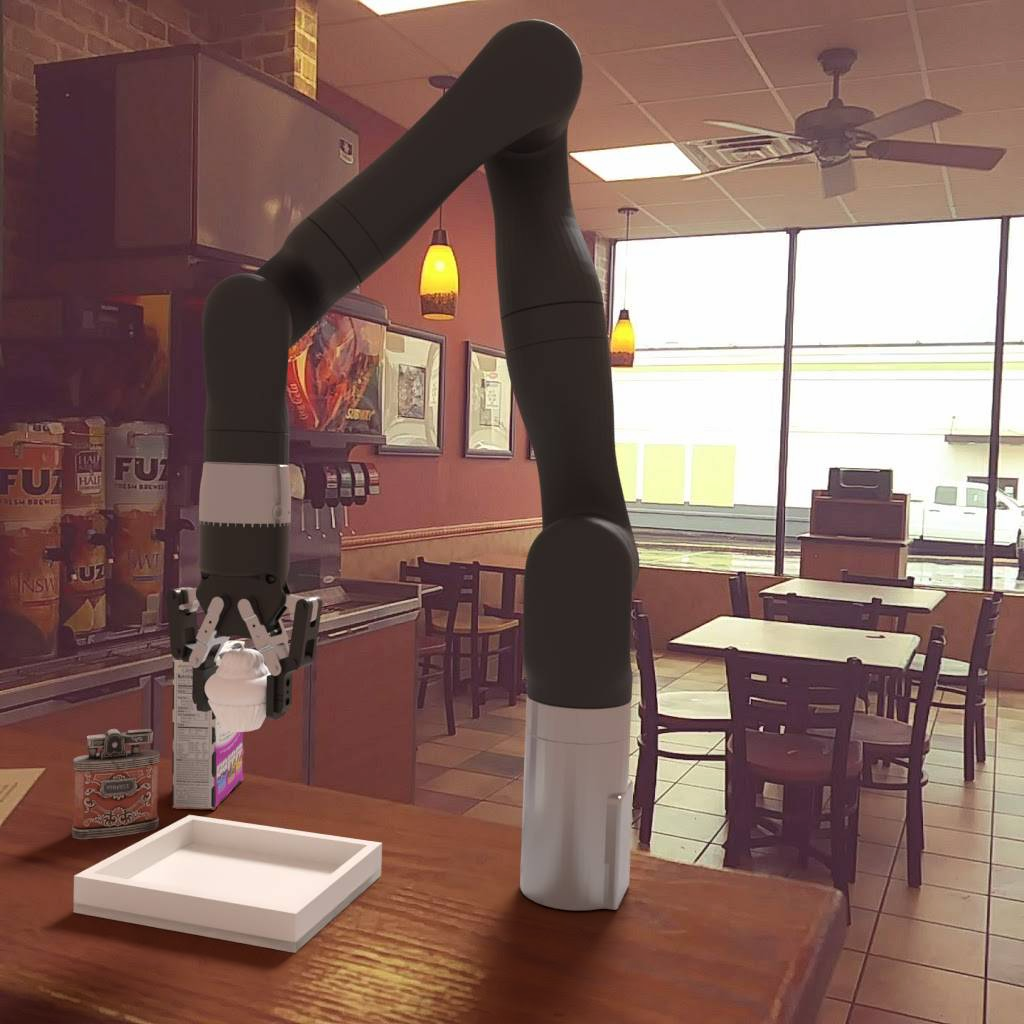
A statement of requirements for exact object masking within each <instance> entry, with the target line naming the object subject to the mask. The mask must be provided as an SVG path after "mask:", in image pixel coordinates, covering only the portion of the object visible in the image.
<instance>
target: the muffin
mask: <svg viewBox="0 0 1024 1024" xmlns="http://www.w3.org/2000/svg"><path fill="white" fill-rule="evenodd" d="M268 675H271V674H270V673H269V670H268V668H267V665H266V663H265V660H264V658H263V655H262V653H261V652H259V651H258V650H257V649H253V648H245V647H244V646H242V648H239V649H233V650H230V651H228V652H226V653H225V654H224V655H223V657H222V659H221V665H220V666H219V667H218V669H217V670H216V673H215V674H213V675H212V676H211V677H210V678H209V679H208V680H207V682H206V684H205V693H206V695H207V697H208V698H209V700H208V703H209V705H210V707H211V709H212V711H213V713H214V715H215V716H216V718H217V720H218V722H219V724H220V726H221V728H222V729H224V730H226V731H231V732H244V733H246V732H252V731H255V730H259V729H260V728H261V727H262V725H263V723H264V722H265V719H266V687H267V676H268Z"/></svg>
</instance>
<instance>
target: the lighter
mask: <svg viewBox="0 0 1024 1024" xmlns="http://www.w3.org/2000/svg"><path fill="white" fill-rule="evenodd" d="M153 742H154V732H153V730H152V729H151V728H144V729H129V730H127V732H120V730H118V729H116V728H112V729H108V730H107V731H106V732H105V734H104V733H103V734H93V735H87V736H86V747H87V753H88V754H85V755H79V756H76V757H75V758H73V763H72V764H73V765H72V766H73V767H72V768H73V769H74V807H73V808H74V811H73V813H74V818H73V821H74V822H73V823H74V824H73V825H72V828H71V837H72V838H73V839H77V840H88V839H102V838H103V839H104V838H112V837H114V838H115V837H122V836H127V835H134V834H141V833H146V832H151V831H154V829H155V830H156V828H157V827H158V828H159V821H160V820H159V816H158V782H159V780H158V779H159V778H158V776H159V775H158V774H159V772H158V771H159V762H160V761H161V752H160V751H159V750H156V749H140V748H141V746H140V745H142V744H152V743H153ZM130 745H131V746H130ZM125 746H130V750H127V749H126V747H125ZM98 750H99V753H98ZM158 828H157V829H158ZM152 829H153V830H152ZM150 830H151V831H150ZM140 832H141V833H140Z"/></svg>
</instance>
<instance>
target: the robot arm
mask: <svg viewBox="0 0 1024 1024" xmlns="http://www.w3.org/2000/svg"><path fill="white" fill-rule="evenodd" d="M583 67H584V66H583V61H582V56H581V53H580V51H579V49H578V47H577V44H576V43H575V42H574V40H573V38H572V37H571V36H569V35H568V34H567V33H566V32H565V31H564V30H563V29H562V28H560V27H559V26H557V25H556V24H554V23H551V22H549V21H545V20H542V19H534V18H533V19H523V20H519V21H515V22H511V23H510V24H508V25H506V26H504V27H502V28H501V29H500V30H498V31H497V32H496V33H495V34H494V35H493V36H492V37H490V39H489V41H487V43H486V44H485V45H484V47H482V49H481V50H480V51H479V53H478V54H477V55H476V56H475V57H474V59H473V60H472V61H471V62H470V63H469V64H468V66H467V67H466V68H465V69H464V70H463V72H461V74H460V75H459V76H458V78H456V80H455V81H454V82H453V83H452V85H451V86H450V87H449V88H448V89H447V90H446V91H445V92H444V94H442V96H440V98H439V99H438V100H437V101H436V102H435V103H434V104H433V105H432V106H431V107H430V108H429V109H428V110H427V111H426V112H425V114H423V115H422V116H421V117H420V118H419V119H418V120H417V121H416V122H415V123H414V124H413V125H412V126H411V127H410V128H409V129H408V130H407V131H405V133H404V134H403V135H401V136H400V137H399V138H398V139H397V140H396V141H395V142H394V143H392V144H391V145H390V146H389V147H388V148H387V149H386V150H385V151H384V152H383V153H381V154H380V155H379V156H377V158H376V159H375V160H373V161H372V162H370V164H368V166H366V167H365V168H364V169H362V170H361V171H360V172H359V173H358V174H357V175H355V176H354V177H353V178H351V180H349V181H348V182H347V183H346V184H345V185H343V186H342V187H341V188H340V189H339V190H338V191H336V192H335V193H334V194H333V195H331V196H330V197H328V198H327V199H326V200H324V202H323V203H321V204H320V206H318V207H316V209H314V210H313V211H312V212H311V213H310V214H309V215H307V216H306V217H305V218H303V219H302V220H301V221H300V222H299V223H298V224H297V225H296V226H295V227H294V228H293V229H292V230H291V231H290V233H288V234H287V236H286V238H285V240H284V242H283V245H282V247H280V249H279V250H278V251H277V253H275V254H274V255H273V256H272V257H271V258H270V259H268V261H265V263H264V264H263V265H261V266H260V267H259V268H258V269H257V270H255V272H253V273H243V272H242V273H236V274H232V275H229V276H227V277H225V278H223V279H222V280H221V281H219V282H218V283H217V284H216V285H215V286H214V287H213V288H212V289H211V291H210V292H209V294H208V295H207V298H206V300H205V303H204V305H203V312H202V326H201V327H202V328H201V329H202V330H201V331H202V355H203V356H202V357H203V369H204V371H203V372H204V381H205V390H206V391H205V392H206V403H205V404H206V405H205V413H204V425H203V429H204V431H203V465H202V474H201V475H202V476H201V479H200V487H199V500H198V501H199V503H198V504H199V506H198V513H199V514H198V519H199V520H198V552H197V553H198V554H197V555H198V556H197V567H198V569H199V572H200V576H201V577H200V579H199V583H197V584H198V585H197V586H196V587H190V586H185V587H183V586H182V587H178V588H172V589H169V590H167V592H166V593H165V599H166V611H167V621H168V622H167V623H168V631H169V632H168V633H169V643H170V654H171V656H172V657H173V658H175V659H180V658H181V659H183V660H185V661H187V662H189V663H190V665H191V666H192V669H193V679H192V686H193V687H192V699H193V702H194V704H196V709H197V711H201V712H208V711H210V710H212V709H211V707H210V705H209V703H208V700H209V698H208V697H207V695H206V693H205V684H206V682H207V680H208V679H209V678H210V677H211V676H212V675H213V674H215V673H216V670H217V669H218V667H219V666H218V665H214V662H215V661H216V660H217V658H218V655H219V653H220V651H221V649H222V647H223V645H224V644H225V642H227V641H228V640H229V641H230V638H231V637H234V636H237V637H240V638H243V639H247V640H252V641H253V644H254V647H255V650H257V651H258V652H260V653H261V654H262V656H263V658H264V664H265V666H266V667H267V668H268V670H269V673H270V674H271V675H268V676H267V687H266V718H267V719H268V720H275V721H276V720H278V719H280V718H282V717H284V716H285V715H286V713H287V711H289V710H290V709H291V707H292V703H293V702H292V701H293V700H292V697H293V696H292V695H293V694H292V693H293V675H294V672H295V671H297V670H299V669H301V668H305V667H307V666H310V665H312V664H314V662H315V657H316V652H317V651H316V650H317V644H318V636H319V630H320V624H321V623H320V622H321V617H322V611H323V610H322V609H323V599H322V597H320V596H319V595H313V596H309V597H305V596H302V595H296V594H293V593H292V591H291V589H290V587H289V583H288V574H289V571H290V561H291V560H290V559H291V558H290V557H291V556H290V552H291V523H292V522H291V519H292V486H291V479H290V467H289V465H290V439H291V438H290V436H291V435H290V433H291V432H290V428H291V427H290V423H291V422H290V412H289V406H288V402H287V389H288V388H287V387H288V376H289V375H288V374H289V373H288V372H289V356H290V349H291V348H293V347H294V346H295V345H296V344H297V343H298V342H299V341H300V340H301V339H302V338H303V337H304V336H305V335H306V334H307V333H308V332H309V331H310V330H311V329H312V328H313V327H314V326H315V325H316V324H317V323H318V322H319V321H320V320H321V319H322V318H324V316H325V315H326V313H327V312H328V311H329V310H330V309H331V308H333V306H334V305H335V304H337V302H339V301H340V300H341V299H342V298H344V297H346V296H348V294H350V293H351V292H352V291H354V290H355V289H357V288H358V287H359V286H360V285H361V284H363V283H364V282H365V281H366V280H368V279H369V277H371V276H372V275H373V274H375V273H376V272H377V271H378V270H379V269H380V268H382V267H383V265H385V264H386V263H387V262H388V261H390V259H392V258H393V257H394V256H395V255H397V254H398V253H399V252H400V250H402V248H404V246H406V245H407V244H408V243H409V242H410V241H411V240H412V239H413V237H415V235H417V233H419V231H420V230H421V229H422V227H423V226H425V224H426V223H427V222H428V221H429V220H430V219H431V218H432V217H433V215H434V214H435V213H436V212H437V211H438V210H439V208H440V207H441V206H442V205H443V204H444V203H445V202H446V200H448V199H449V197H451V195H452V194H453V193H454V192H455V191H456V189H458V188H459V187H460V186H461V185H462V184H463V183H464V182H465V181H466V180H467V179H468V178H469V177H471V175H472V174H473V173H475V172H476V171H477V170H478V169H479V168H480V167H481V166H483V169H484V172H485V177H486V181H487V187H488V191H489V195H490V199H491V205H492V211H493V221H494V242H495V243H494V244H495V245H494V246H495V268H496V282H497V292H498V302H499V303H498V304H499V315H500V316H499V317H500V324H501V333H502V340H503V348H504V354H505V362H506V366H507V368H506V369H507V371H508V376H509V380H510V385H511V388H512V392H513V395H514V399H515V402H516V404H517V408H518V411H519V414H520V417H521V420H522V423H523V425H524V429H525V431H526V434H527V437H528V440H529V442H530V445H531V449H532V452H533V455H534V459H535V463H536V468H537V474H538V482H539V491H540V501H541V502H540V503H541V504H540V505H541V506H540V507H541V523H542V524H541V525H542V527H541V528H542V531H540V533H539V534H538V535H537V536H536V537H535V539H534V540H533V541H532V543H531V546H530V547H529V550H528V552H527V556H526V561H525V567H524V576H523V598H522V599H523V602H522V605H523V607H522V609H523V610H522V611H523V612H522V614H523V615H522V626H523V627H522V657H523V659H522V660H523V666H524V669H525V674H526V700H525V701H526V702H525V705H526V706H525V729H524V730H525V731H524V734H525V735H524V757H523V759H524V761H523V762H524V764H523V789H522V790H523V793H522V795H523V796H522V822H521V823H522V825H521V849H520V850H521V851H520V852H521V853H520V854H521V855H520V864H519V867H520V868H519V871H520V878H519V879H520V883H519V884H520V885H519V886H520V890H521V892H522V894H523V895H524V896H525V897H526V898H527V899H528V900H531V901H533V902H534V903H536V904H540V905H543V906H545V907H549V908H553V909H557V910H558V909H559V910H566V911H592V910H600V909H601V910H602V909H603V910H604V909H605V910H606V909H607V910H613V911H614V910H616V911H617V910H618V909H619V906H620V905H621V903H622V901H623V899H624V896H625V894H626V892H627V891H628V888H629V885H630V875H631V871H630V870H631V847H632V845H631V844H632V843H631V841H632V821H633V820H632V819H633V817H632V816H633V793H634V784H633V780H632V779H629V775H630V746H631V724H632V723H631V722H632V721H631V720H632V717H631V716H632V698H633V681H634V680H633V677H634V675H633V669H632V659H631V636H632V635H631V632H632V631H631V630H632V603H633V602H632V601H633V600H632V599H633V591H634V589H635V588H636V584H637V582H638V580H639V574H640V569H641V568H640V554H639V550H638V546H637V543H636V539H635V535H634V532H633V528H632V525H631V521H630V516H629V513H628V507H627V505H626V504H627V503H626V500H625V495H624V490H623V487H622V483H621V481H622V480H621V477H620V471H619V465H618V460H617V453H616V452H617V451H616V440H615V439H616V438H615V435H616V434H615V409H614V407H615V404H614V403H615V402H614V390H613V375H612V365H611V364H612V363H611V353H610V351H611V350H610V341H609V335H608V328H607V327H608V326H607V320H606V313H605V312H606V311H605V303H604V298H603V297H604V296H603V292H602V287H601V282H600V280H599V275H598V272H597V269H596V267H595V266H596V265H595V263H594V260H593V258H592V255H591V252H590V251H589V248H588V245H587V243H586V241H585V238H584V235H583V234H582V230H581V228H580V225H579V223H578V220H577V217H576V214H575V211H574V206H573V205H574V204H573V201H572V193H571V187H570V174H569V170H570V169H569V161H568V160H569V157H568V156H569V155H568V151H569V150H568V133H569V132H568V131H569V130H568V129H569V122H570V120H571V117H572V116H573V114H574V111H575V109H576V106H577V104H578V101H579V99H580V96H581V93H582V92H581V91H582V87H583V86H582V85H583V79H584V73H583V71H584V68H583ZM199 607H201V609H202V610H203V612H204V614H205V615H206V616H205V618H204V619H203V621H202V624H201V626H200V627H199V628H198V616H197V610H198V608H199ZM287 609H288V611H289V619H290V620H291V621H293V622H292V628H291V629H292V630H291V636H290V642H289V636H288V633H287V630H286V628H285V625H284V623H283V620H282V616H283V615H284V613H286V610H287ZM266 718H265V719H266Z"/></svg>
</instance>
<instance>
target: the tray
mask: <svg viewBox="0 0 1024 1024" xmlns="http://www.w3.org/2000/svg"><path fill="white" fill-rule="evenodd" d="M382 856H383V842H379V841H371V840H366V839H365V840H364V839H358V838H352V837H344V836H339V835H338V836H337V835H330V834H324V833H323V834H322V833H317V832H309V831H303V830H298V829H297V830H296V829H289V828H288V829H287V828H282V827H277V826H269V825H261V824H255V823H249V822H248V823H247V822H241V821H234V820H228V819H220V818H215V817H214V818H213V817H208V816H207V817H206V816H198V815H193V814H188V815H187V816H185V817H183V818H180V819H179V820H177V821H175V822H173V823H172V824H170V825H168V826H166V827H164V828H162V829H160V830H158V831H156V832H154V833H152V834H151V835H149V836H147V837H145V838H142V839H141V840H140V841H138V842H135V843H133V844H132V845H130V846H128V847H126V848H124V849H122V850H119V852H117V853H115V854H113V855H111V856H110V857H109V856H108V857H107V858H106V859H103V860H101V861H100V862H98V863H96V864H94V865H92V866H90V867H88V868H86V869H84V870H82V871H81V872H79V873H76V874H75V875H73V911H72V912H73V913H74V914H81V915H85V916H92V917H97V918H101V919H103V918H104V919H108V920H113V921H119V922H124V923H131V924H136V925H141V926H147V927H153V928H157V929H162V930H168V931H174V932H180V933H185V934H189V935H190V934H191V935H197V936H201V937H207V938H210V939H211V938H212V939H216V940H217V939H218V940H222V941H228V942H234V943H241V944H244V945H245V944H246V945H248V946H249V945H250V946H255V947H261V948H267V949H273V950H277V951H283V952H287V953H295V954H296V953H297V952H298V951H299V950H300V949H301V948H303V946H304V945H306V944H307V943H308V942H309V941H310V940H311V939H312V938H313V937H315V936H316V935H317V934H318V933H319V932H320V931H321V930H323V928H324V927H326V926H327V925H328V924H329V923H330V922H331V921H332V920H333V919H335V918H336V917H337V916H338V915H339V914H340V913H341V912H342V911H343V910H344V909H346V908H347V907H348V906H349V905H350V904H351V903H353V902H354V901H355V899H357V898H358V897H359V896H360V895H362V893H364V892H365V891H366V890H367V889H368V888H369V887H370V886H372V884H374V883H375V882H376V881H377V880H378V879H379V878H380V877H381V876H382V860H383V859H382Z"/></svg>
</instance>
